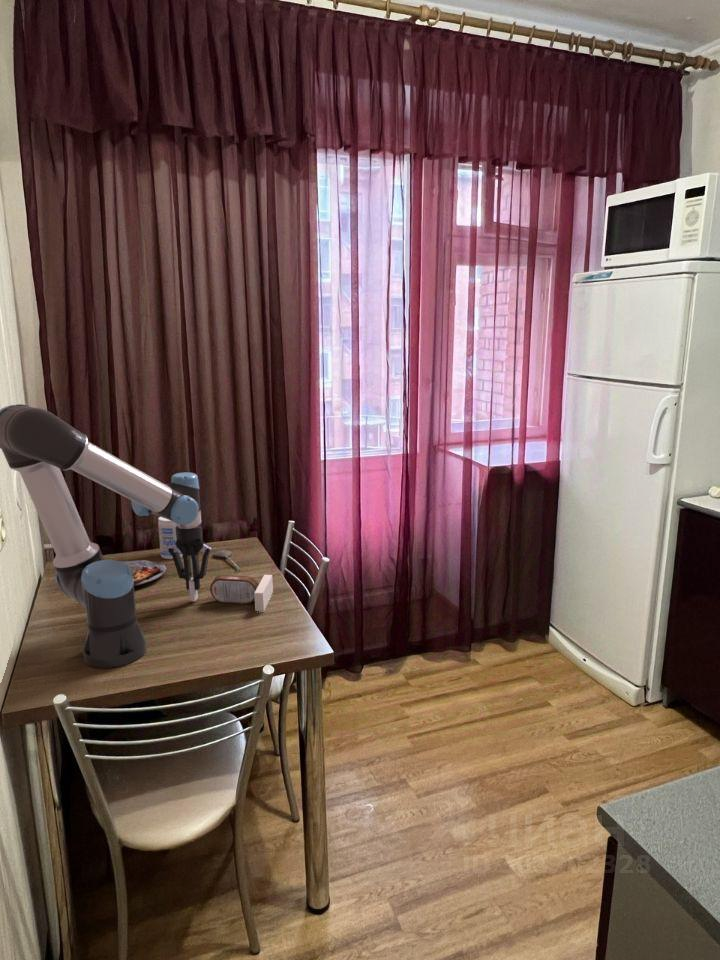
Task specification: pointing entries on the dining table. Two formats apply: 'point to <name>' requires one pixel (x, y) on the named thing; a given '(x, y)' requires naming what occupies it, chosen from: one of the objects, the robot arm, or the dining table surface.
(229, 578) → the tin
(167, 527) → the supplement tub
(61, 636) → the dining table surface
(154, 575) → the food plate
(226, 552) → the soupspoon
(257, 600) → the board
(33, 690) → the dining table surface
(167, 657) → the dining table surface
